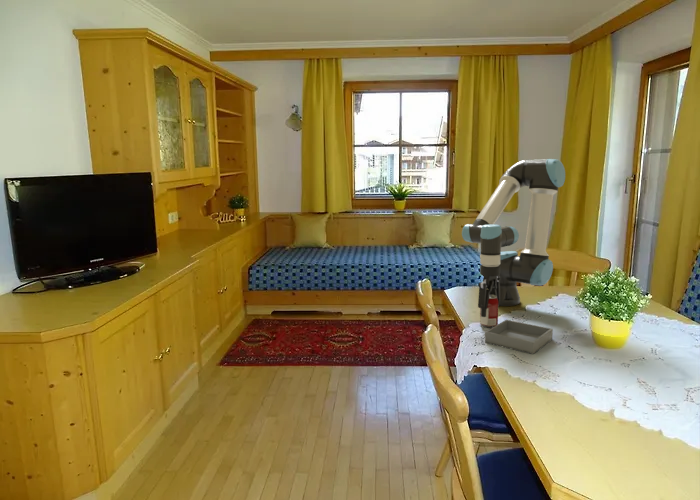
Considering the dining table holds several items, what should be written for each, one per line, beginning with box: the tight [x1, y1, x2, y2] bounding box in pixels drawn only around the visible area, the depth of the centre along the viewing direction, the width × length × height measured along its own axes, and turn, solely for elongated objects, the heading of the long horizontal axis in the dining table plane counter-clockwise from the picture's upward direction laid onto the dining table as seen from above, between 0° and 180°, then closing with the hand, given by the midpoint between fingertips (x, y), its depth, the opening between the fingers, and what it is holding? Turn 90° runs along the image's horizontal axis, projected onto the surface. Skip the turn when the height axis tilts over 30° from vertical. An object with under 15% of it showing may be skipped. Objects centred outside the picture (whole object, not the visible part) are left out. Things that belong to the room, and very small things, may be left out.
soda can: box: [479, 294, 499, 329], centre depth 191 cm, size 7×7×12 cm
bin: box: [484, 319, 554, 355], centre depth 174 cm, size 17×17×4 cm
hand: (488, 321), depth 192 cm, fingers closed on soda can, 7 cm apart
